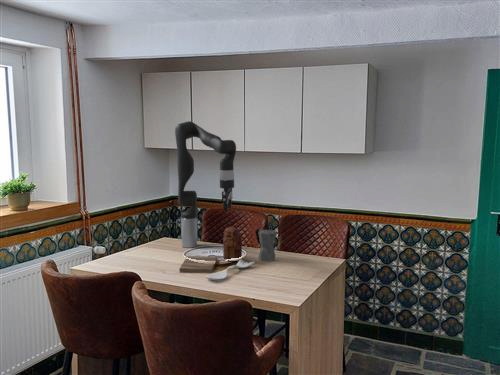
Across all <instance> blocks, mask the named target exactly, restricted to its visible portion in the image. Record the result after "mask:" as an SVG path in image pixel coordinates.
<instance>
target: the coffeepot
mask: <svg viewBox="0 0 500 375" xmlns="http://www.w3.org/2000/svg"><path fill="white" fill-rule="evenodd" d="M269 228H270V227H269V226H265V229H260V228H257V229H256V230H255V237H256V241H257V244H259V245H260V248H259V253H258V260H259V261H261V262H274V261H275V260H276V258H277V257H276V251H275V247H274V245H275V242H276V236H278V235H277V231H275V230H272V229H269Z"/></svg>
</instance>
